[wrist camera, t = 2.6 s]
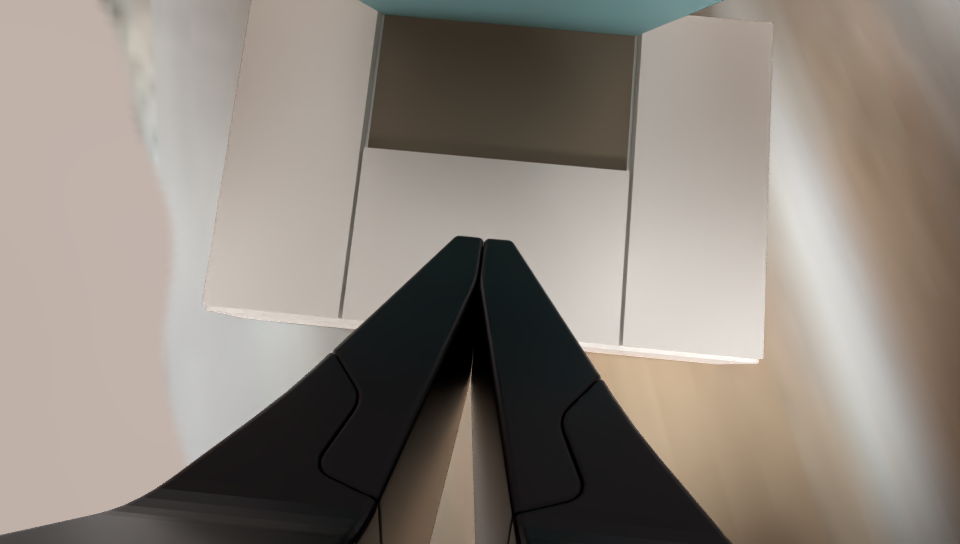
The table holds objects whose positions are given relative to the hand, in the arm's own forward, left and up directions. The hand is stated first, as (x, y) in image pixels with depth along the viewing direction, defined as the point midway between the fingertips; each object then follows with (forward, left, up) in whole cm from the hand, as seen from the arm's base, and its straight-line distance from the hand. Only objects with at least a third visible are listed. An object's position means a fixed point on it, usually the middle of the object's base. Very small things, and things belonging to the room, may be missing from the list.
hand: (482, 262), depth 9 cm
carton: (+3, +1, -10) cm, 10 cm away
